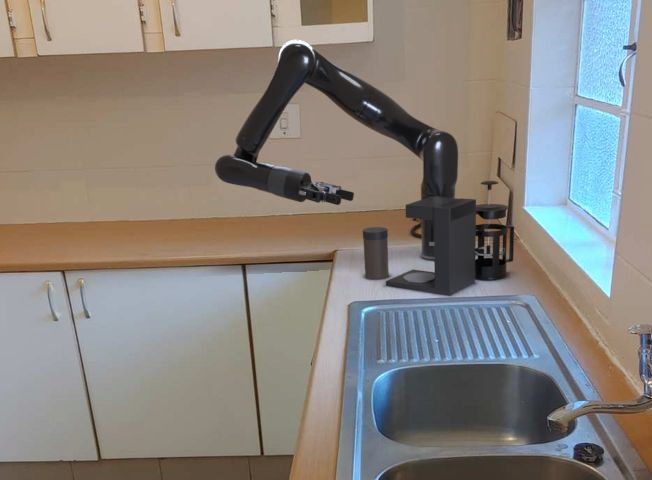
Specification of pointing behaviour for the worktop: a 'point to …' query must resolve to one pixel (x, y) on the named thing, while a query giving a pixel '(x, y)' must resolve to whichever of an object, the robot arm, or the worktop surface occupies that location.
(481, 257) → the french press
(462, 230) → the coffee maker
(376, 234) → the brown travel mug
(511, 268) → the worktop surface
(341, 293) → the worktop surface
